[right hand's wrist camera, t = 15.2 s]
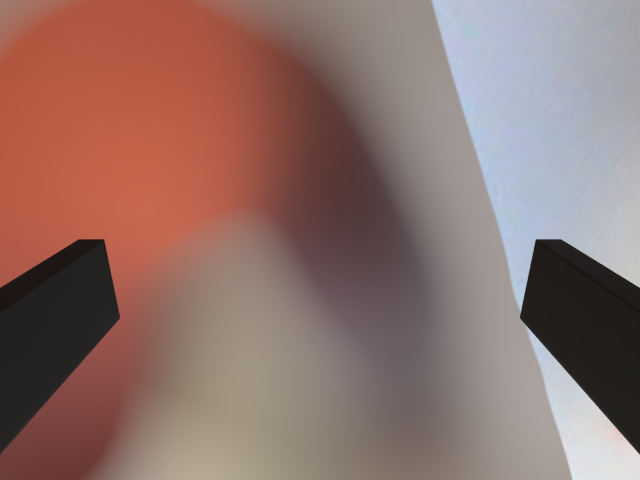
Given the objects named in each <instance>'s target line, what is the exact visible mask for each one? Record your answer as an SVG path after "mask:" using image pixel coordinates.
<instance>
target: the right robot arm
mask: <svg viewBox="0 0 640 480" xmlns="http://www.w3.org/2000/svg"><path fill="white" fill-rule="evenodd" d="M119 319H120V315H119V310H118V305H117V300H116V295H115V291H114V286H113V281H112V276H111V271H110V266H109V261H108V256H107V251H106V246H105V242H104V239H79V240H77V241H76V242H74V243H72V244H71V245H69V246H68V247H66V248H64V249H63V250H61V251H59V252H58V253H56V254H55V255H53V256H51V257H50V258H48V259H46V260H45V261H43V262H41V263H40V264H38V265H37V266H35V267H33V268H32V269H30V270H28V271H27V272H25V273H24V274H22V275H20V276H19V277H17V278H16V279H14V280H12V281H11V282H9V283H7V284H6V285H4V286H3V287H1V288H0V454H1V453H2V452H3V451H4V450H5V448H6V447H7V446H8V445H9V444H10V443H11V442H12V440H13V439H14V438H15V437H16V436H17V435H18V434H19V433H20V431H21V430H22V429H23V428H24V427H25V426H26V425H27V423H28V422H29V421H30V420H31V419H32V418H33V417H34V415H35V414H36V413H37V412H38V411H39V410H40V409H41V408H42V406H43V405H44V404H45V403H46V402H47V401H48V400H49V398H50V397H51V396H52V395H53V394H54V393H55V392H56V390H57V389H58V388H59V387H60V386H61V385H62V384H63V383H64V381H65V380H66V379H67V378H68V377H69V376H70V375H71V373H72V372H73V371H74V370H75V369H76V368H77V367H78V365H79V364H80V363H81V362H82V361H83V360H84V359H85V357H86V356H87V355H88V354H89V353H90V352H91V351H92V350H93V348H94V347H95V346H96V345H97V344H98V343H99V342H100V340H101V339H102V338H103V337H104V336H105V335H106V334H107V332H108V331H109V330H110V329H111V328H112V327H113V326H114V325H115V323H116V322H117V321H118V320H119ZM520 319H521V320H522V321H523V322H524V323H525V325H526V326H527V327H528V328H529V329H530V330H531V331H532V332H533V334H534V335H535V336H536V337H537V338H538V339H539V340H540V342H541V343H542V344H543V345H544V346H545V347H546V348H547V350H548V351H549V352H550V353H551V354H552V355H553V356H554V357H555V359H556V360H557V361H558V362H559V363H560V364H561V365H562V367H563V368H564V369H565V370H566V371H567V372H568V373H569V375H570V376H571V377H572V378H573V379H574V380H575V381H576V383H577V384H578V385H579V386H580V387H581V388H582V389H583V390H584V392H585V393H586V394H587V395H588V396H589V397H590V398H591V400H592V401H593V402H594V403H595V404H596V405H597V406H598V408H599V409H600V410H601V411H602V412H603V413H604V414H605V415H606V417H607V418H608V419H609V420H610V421H611V422H612V423H613V425H614V426H615V427H616V428H617V429H618V430H619V431H620V433H621V434H622V435H623V436H624V437H625V438H626V439H627V440H628V442H629V443H630V444H631V445H632V446H633V447H634V448H635V450H636V451H637V452H638V453H639V454H640V288H639V287H637V286H636V285H634V284H633V283H631V282H629V281H628V280H626V279H624V278H623V277H621V276H620V275H618V274H616V273H615V272H613V271H611V270H610V269H608V268H607V267H605V266H603V265H602V264H600V263H599V262H597V261H595V260H594V259H592V258H590V257H589V256H587V255H586V254H584V253H582V252H581V251H579V250H577V249H576V248H574V247H573V246H571V245H569V244H568V243H566V242H564V241H563V240H561V239H536V242H535V246H534V251H533V256H532V261H531V266H530V271H529V276H528V281H527V286H526V290H525V295H524V300H523V305H522V310H521V315H520Z"/></svg>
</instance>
